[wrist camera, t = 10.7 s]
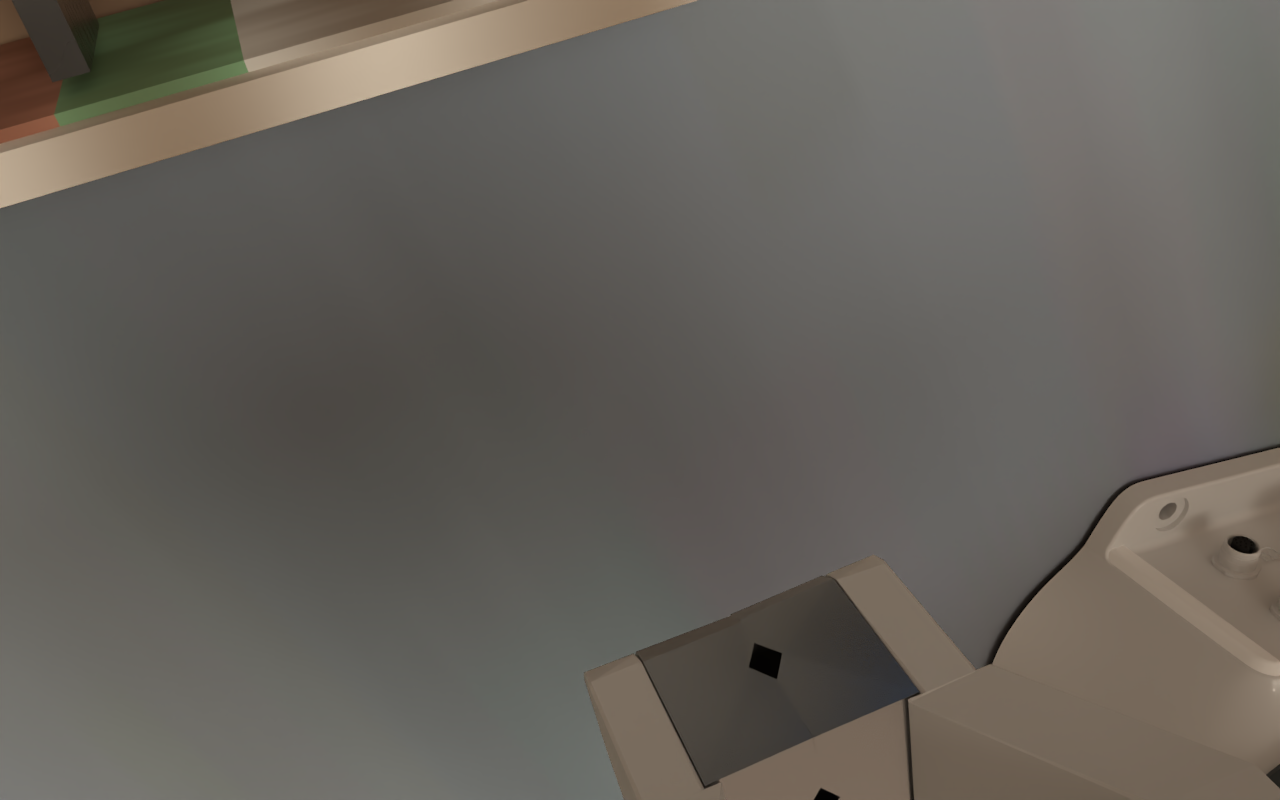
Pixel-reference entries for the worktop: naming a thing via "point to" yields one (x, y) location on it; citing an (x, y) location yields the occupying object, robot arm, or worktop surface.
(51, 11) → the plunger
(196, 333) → the worktop surface
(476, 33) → the gauge bench
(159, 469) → the worktop surface
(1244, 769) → the robot arm
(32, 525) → the worktop surface
